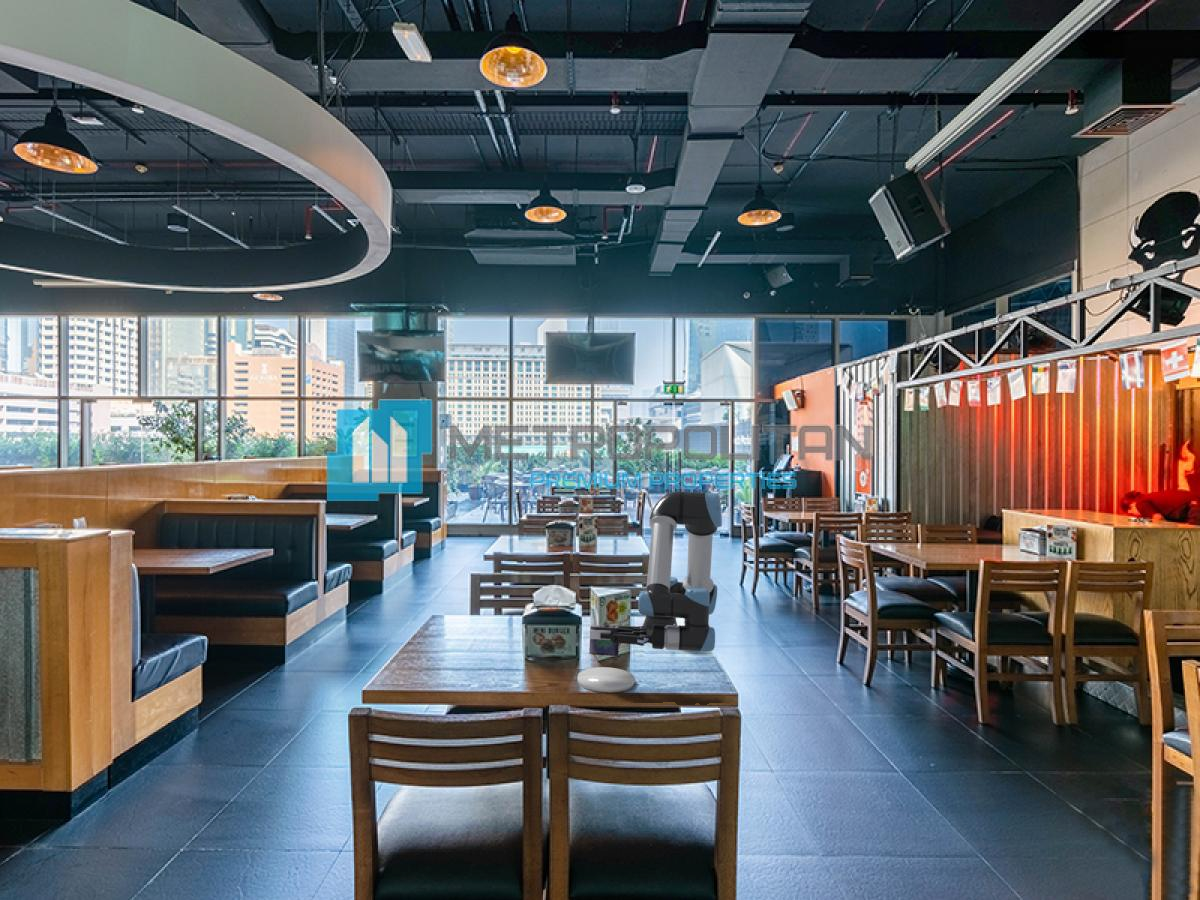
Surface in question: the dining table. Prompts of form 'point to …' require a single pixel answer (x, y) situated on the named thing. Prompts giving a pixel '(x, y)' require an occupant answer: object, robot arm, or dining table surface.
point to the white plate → (606, 679)
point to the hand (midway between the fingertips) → (590, 632)
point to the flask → (604, 641)
